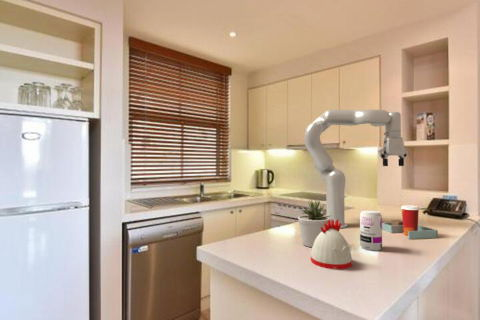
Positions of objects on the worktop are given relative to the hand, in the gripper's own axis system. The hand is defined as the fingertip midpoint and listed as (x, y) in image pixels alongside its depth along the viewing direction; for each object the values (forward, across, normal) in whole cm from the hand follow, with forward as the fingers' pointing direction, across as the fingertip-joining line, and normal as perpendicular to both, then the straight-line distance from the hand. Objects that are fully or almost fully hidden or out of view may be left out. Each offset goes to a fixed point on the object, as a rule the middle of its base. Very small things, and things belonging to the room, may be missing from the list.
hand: (393, 166), depth 152 cm
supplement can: (+34, -36, -32) cm, 59 cm away
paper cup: (+34, -4, -16) cm, 38 cm away
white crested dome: (+34, -60, -44) cm, 82 cm away
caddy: (+33, -3, -13) cm, 36 cm away
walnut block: (+33, -3, -8) cm, 34 cm away
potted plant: (+34, -57, -24) cm, 70 cm away
